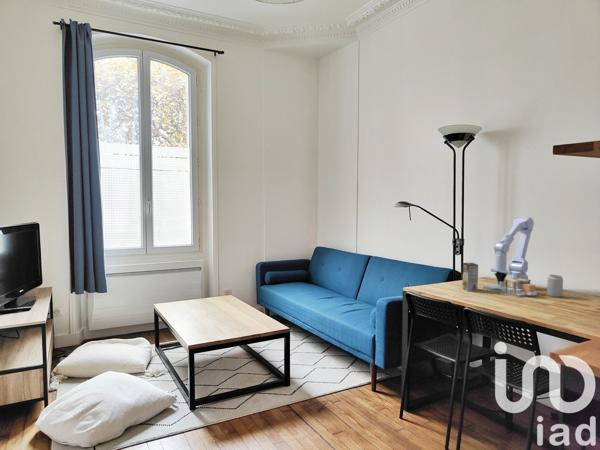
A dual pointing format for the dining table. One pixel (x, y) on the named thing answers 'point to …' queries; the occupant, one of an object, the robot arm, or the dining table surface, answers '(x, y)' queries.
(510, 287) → the sled
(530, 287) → the block
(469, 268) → the coffee box
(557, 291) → the can
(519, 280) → the tunnel
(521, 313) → the dining table surface
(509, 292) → the track
